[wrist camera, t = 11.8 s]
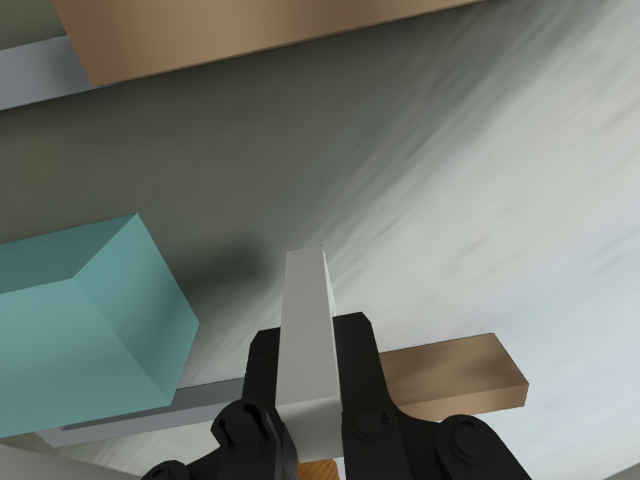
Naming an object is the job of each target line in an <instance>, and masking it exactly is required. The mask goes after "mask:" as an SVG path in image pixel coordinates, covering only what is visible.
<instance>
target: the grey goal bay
mask: <svg viewBox="0 0 640 480" xmlns="http://www.w3.org/2000/svg"><path fill="white" fill-rule="evenodd" d="M116 84H120V82H119V83H113V84H108V85H102V86H96V87H94V86H93V84H92V82H91V80H90V78H89V76H88V74H87V73H86V71H85V69H84V67H83V65H82V63H81V61H80V59H79V57H78V55H77V53H76V51H75V49H74V47H73V45H72V43H71V41H70V39H69V37H68V35H64V36H60V37H56V38H52V39H47V40H43V41H39V42H35V43H30V44H26V45H22V46H18V47H14V48H9V49H5V50H1V51H0V111H1V110H6V109H10V108H15V107H19V106H23V105H28V104H32V103H37V102H41V101H46V100H50V99H54V98H59V97H63V96H68V95H72V94H76V93H81V92H85V91H90V90H94V89H98V88H103V87H107V86H112V85H116ZM244 379H245V378H240V379H234V380H229V381H223V382H218V383H212V384H206V385H201V386H195V387H190V388H184V389H179V390H176V391H175V394H174V397H173V399H172V402H171V405H169V406H163V407H158V408H153V409H148V410H143V411H138V412H132V413H127V414H122V415H117V416H112V417H106V418H101V419H96V420H91V421H86V422H80V423H75V424H70V425H65V426H60V427H55V428H49V429H44V430H39V431H34V432H35V433H36V434H37V435H39V436H40V437H41V438H42V439H43V440H45V441H46V442H47V443H48V444H49V445H51V446H52V447H53V448H57V447H62V446H68V445H74V444H80V443H85V442H91V441H97V440H103V439H108V438H114V437H120V436H125V435H131V434H137V433H143V432H148V431H154V430H160V429H166V428H171V427H177V426H183V425H189V424H194V423H200V422H206V421H212V420H214V419H215V418H216V417H217V415H218V414H219V413H220V412H221V410H222V409H223V408H225V407H226V406H227V405H229V404H230V403H231V402H233V401H236V400H239V399H241V396H242V390H243V385H244Z"/></svg>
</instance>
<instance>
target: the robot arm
mask: <svg viewBox="0 0 640 480" xmlns="http://www.w3.org/2000/svg"><path fill="white" fill-rule="evenodd" d="M210 431H211V432H212V434H213V435H214V437H215V438H216V440H217V441H218V443H219V444H220V447H219V448H217V449H216V450H214V451H213V452H211V453H209V454H207V455H206V456H204V457H202V458H200V459H198V460H196V461H194V462H192V463H190V464H188V465H186V466H185V465H184V464H183V463H181V462H179V461H177V460H170V461H164V462H162V463H160V464H158V465H156V466H154V467H153V468H152V469H151V470H150V471H149V472H148V473H147V474H145V475H144V476H143V478H142V479H141V480H299V477H298V475H297V456H298V458H299V460H300V462H301V463H305V462H312V461H318V460H325V459H332V458H338V457H344V464H345V474H346V480H532V479H531V478H530V476H529V475H528V474H527V472H526V471H525V470H524V469H523V467H522V466H521V465H520V463H519V462H518V461H517V459H516V458H515V457H514V456H513V454H512V453H511V452H510V450H509V449H508V448H507V447H506V445H505V444H504V443H503V441H502V440H501V439H500V437H499V436H498V435H497V434H496V432H495V431H494V430H493V429H492V428H490V427H489V426H488V425H487V424H486V423H485V422H483V421H482V420H480V419H478V418H476V417H474V416H470V415H465V414H457V415H452V416H448V417H447V418H446V419H444V420H443V421H442V422H440V423H438V422H433V421H427V420H422V419H418V418H414V417H411V416H409V415H407V414H406V413H404V412H402V411H401V410H400V409H399V408H398V407H397V406H396V405H395V404H394V402H393V401H392V400H391V397H390V395H389V392H388V388H387V384H386V380H385V376H384V372H383V369H382V365H381V361H380V357H379V353H378V349H377V345H376V341H375V337H374V333H373V329H372V325H371V322H370V321H369V320H368V318H367V317H366V316H365V315H364V314H363V313H362V312H357V313H352V314H346V315H340V316H336V310H335V302H334V295H333V290H332V286H331V281H330V277H329V272H328V268H327V263H326V259H325V254H324V250H323V245H320V246H315V247H310V248H305V249H299V250H294V251H289V252H286V263H285V277H284V291H283V305H282V318H281V327H278V328H272V329H266V330H261V331H258V332H257V334H256V336H255V337H254V339H253V341H252V342H251V344H250V349H249V355H248V361H247V367H246V373H245V379H244V385H243V390H242V396H241V399H239V400H236V401H233V402H231V403H230V404H229V405H227V406H226V407H225V408H223V409H222V410H221V412H220V413H219V414H218V415H217V417H216V418H215V419H214V422H213V424H212V427H211V429H210Z"/></svg>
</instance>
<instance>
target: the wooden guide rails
mask: <svg viewBox="0 0 640 480" xmlns="http://www.w3.org/2000/svg"><path fill="white" fill-rule="evenodd" d="M50 1H51V3H52V5H53V7H54V9H55V11H56V13H57V15H58V17H59V19H60V21H61V23H62V25H63V27H64V29H65V31H66V33H67V35H68V37H69V39H70V41H71V43H72V45H73V47H74V49H75V51H76V53H77V55H78V57H79V59H80V61H81V63H82V65H83V67H84V69H85V71H86V73H87V74H88V76H89V78H90V80H91V82H92V84H93V86H94V87H96V86H102V85H108V84H113V83H119V82H125V81H130V80H136V79H142V78H147V77H151V76H156V75H160V74H165V73H169V72H173V71H178V70H182V69H187V68H191V67H195V66H200V65H204V64H209V63H213V62H217V61H222V60H226V59H231V58H235V57H240V56H244V55H248V54H253V53H257V52H262V51H266V50H270V49H275V48H279V47H284V46H288V45H292V44H297V43H301V42H306V41H310V40H315V39H319V38H323V37H328V36H332V35H337V34H341V33H345V32H350V31H354V30H359V29H363V28H367V27H372V26H376V25H381V24H385V23H389V22H394V21H398V20H403V19H407V18H412V17H416V16H420V15H425V14H429V13H434V12H438V11H442V10H447V9H451V8H456V7H460V6H464V5H469V4H473V3H478V2H482V1H486V0H50ZM379 357H380V361H381V365H382V369H383V372H384V376H385V380H386V384H387V388H388V392H389V395H390V397H391V400H392V401H393V402H394V404H395V405H396V406H397V407H398V408H399V409H400V410H401V411H402V412H404V413H406V414H407V415H409V416H411V417H414V418H418V419H422V420H427V421H439V420H444V419H446V418H447V417H448V416H452V415H457V414H465V415H475V414H481V413H487V412H493V411H499V410H505V409H511V408H517V407H522V406H524V405H525V400H526V396H527V391H528V387H529V383H528V381H527V380H526V378H525V377H524V376H523V374H522V373H521V371H520V370H519V368H518V367H517V366H516V364H515V363H514V361H513V360H512V358H511V357H510V355H509V354H508V353H507V351H506V350H505V348H504V347H503V345H502V344H501V343H500V341H499V340H498V338H497V337H496V335H495V334H494V333H490V334H485V335H479V336H474V337H468V338H463V339H457V340H451V341H446V342H440V343H435V344H429V345H424V346H418V347H413V348H407V349H401V350H396V351H390V352H385V353H379Z"/></svg>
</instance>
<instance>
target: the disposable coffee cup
mask: <svg viewBox="0 0 640 480" xmlns="http://www.w3.org/2000/svg"><path fill="white" fill-rule="evenodd" d="M297 475H298V477H299V480H340V479H339V475H338V469H337V464H336V463H335V461H334V460H333V459H325V460H318V461H312V462H305V463H301V462H300V460H299V458H298V456H297Z"/></svg>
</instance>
